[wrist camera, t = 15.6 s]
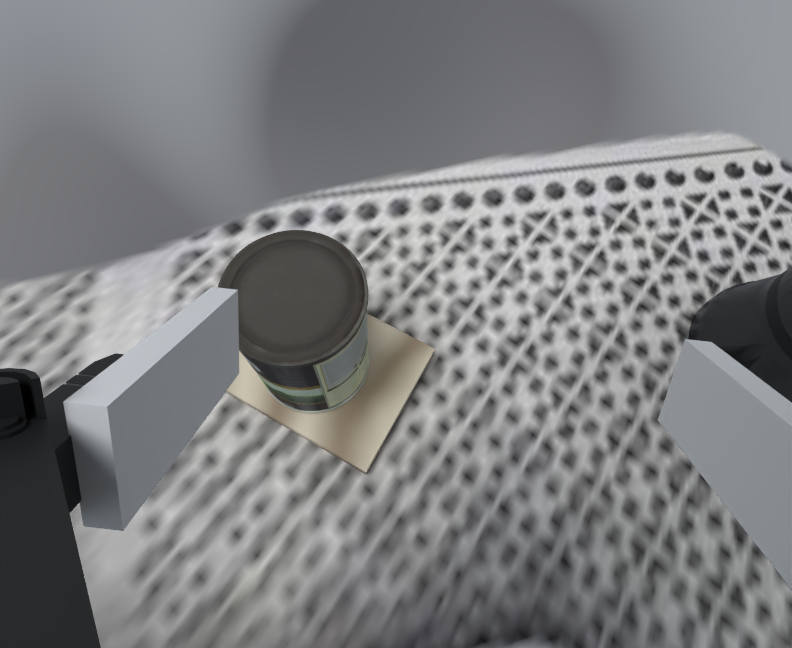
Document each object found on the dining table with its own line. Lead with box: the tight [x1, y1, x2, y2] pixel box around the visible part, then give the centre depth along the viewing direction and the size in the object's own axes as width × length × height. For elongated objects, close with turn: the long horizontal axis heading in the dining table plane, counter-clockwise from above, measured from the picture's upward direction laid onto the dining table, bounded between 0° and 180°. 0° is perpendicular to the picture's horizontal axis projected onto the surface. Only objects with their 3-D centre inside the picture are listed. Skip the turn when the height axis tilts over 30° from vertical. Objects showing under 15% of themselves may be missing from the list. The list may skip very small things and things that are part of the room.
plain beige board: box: [226, 314, 435, 474], centre depth 48 cm, size 18×13×2 cm
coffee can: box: [218, 230, 370, 414], centre depth 41 cm, size 10×10×14 cm
